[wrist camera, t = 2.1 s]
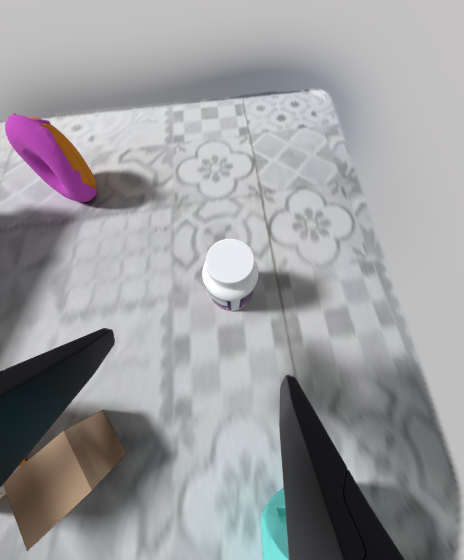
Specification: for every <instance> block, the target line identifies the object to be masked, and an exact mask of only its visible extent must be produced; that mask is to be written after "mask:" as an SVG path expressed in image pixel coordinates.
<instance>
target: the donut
mask: <svg viewBox="0 0 464 560" xmlns="http://www.w3.org/2000/svg"><path fill="white" fill-rule="evenodd" d="M5 130H6V135H7V137H8V140H9V142H10V144H11V145H12V147H13V148H14V149H15V151H16V152H17V153H18V154H19V155H20V156H21V157H22V159H23V160H24V161H25V162H26V163H27V164H28V165H29V166H30V167H31V168H32V169H33V170H34V171H35V172H36V173H37V174H38V175H39V176H40V177H41V178H42V179H43V180H44V181H45V182H46V183H47V184H48V185H50V186H51V187H52V188H53V189H55V190H56V191H57V192H59V193H60V194H62V195H63V196H65V197H66V198H69V199H71V200H74V201H78V202H87V201H90V200H91V199H93V197H94V196H95V195H96V194H97V190H96V189H97V185H96V181H95V179H94V176H93V174H92V172H91V170H90V169H89V167H88V165H87V164H86V162H85V161H84V159H83V158H82V156H81V155H80V153H79V152H78V151H77V149H76V148H75V147H74V146H73V144H72V143H71V142H70V141H69V140H68V139H67V138H66V137H65V136H64V135H63V134H62V133H61V132H60V131H59V130H57V129H56V128H55V127H54V126H52V125H51V124H50V122H49V121H47V120H42V119H40V118H37V117H25V116H20V115H16V114H15V113H14V114H13V115H11V116H10V117H9V118H8V119H7V121H6V124H5Z"/></svg>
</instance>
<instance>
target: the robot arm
mask: <svg viewBox="0 0 464 560" xmlns="http://www.w3.org/2000/svg"><path fill="white" fill-rule="evenodd" d="M114 343H115V339H114V334H113V331H112V330H111V329H107V328H103V329H100V330H98V331H96V332H93V333H91V334H88V335H86V336H84V337H81V338H79V339H76V340H74V341H72V342H69V343H67V344H64V345H62V346H60V347H57V348H55V349H53V350H50V351H48V352H45V353H43V354H41V355H38V356H36V357H33V358H31V359H29V360H26V361H24V362H21V363H19V364H17V365H14V366H12V367H9V368H7V369H5V370H2V371H0V487H2V485H3V484H4V483H5V482H6V481H7V479H8V478H9V477H10V476H11V475H12V473H13V472H14V471H15V470H16V468H17V467H18V466H19V465H20V464H21V462H22V461H23V460H24V459H25V457H26V456H27V455H28V454H29V453H30V451H31V450H32V449H33V448H34V446H35V445H36V444H37V443H38V442H39V440H40V439H41V438H42V437H43V436H44V434H45V433H46V432H47V431H48V429H49V428H50V427H51V426H52V425H53V423H54V422H55V421H56V420H57V418H58V417H59V416H60V415H61V414H62V412H63V411H64V410H65V409H66V407H67V406H68V405H69V404H70V403H71V401H72V400H73V399H74V398H75V397H76V395H77V394H78V393H79V392H80V390H81V389H82V388H83V387H84V386H85V384H86V383H87V382H88V381H89V379H90V378H91V377H92V376H93V374H94V373H95V372H96V370H97V369H98V368H99V366H100V365H101V363H102V362H103V360H104V359H105V357H106V356H107V354H108V353H109V351H110V350H111V348H112V347H113V345H114ZM279 426H280V442H281V455H282V469H283V483H284V496H285V510H286V524H287V538H288V551H289V560H405V559H404V558H403V556H402V555H401V553H400V552H399V550H398V549H397V547H396V546H395V544H394V543H393V541H392V540H391V538H390V537H389V535H388V534H387V532H386V530H385V529H384V527H383V526H382V524H381V523H380V521H379V520H378V518H377V516H376V515H375V513H374V512H373V510H372V509H371V507H370V505H369V504H368V502H367V500H366V499H365V497H364V495H363V494H362V492H361V490H360V489H359V487H358V485H357V484H356V482H355V480H354V479H353V477H352V475H351V473H350V472H349V470H347V467H346V465H345V463H344V461H343V460H342V458H341V456H340V454H339V453H338V451H337V449H336V447H335V446H334V444H333V442H332V440H331V439H330V437H329V435H328V433H327V432H326V430H325V428H324V427H323V425H322V423H321V421H320V420H319V418H318V416H317V414H316V413H315V411H314V409H313V407H312V406H311V404H310V402H309V400H308V399H307V397H306V395H305V394H304V392H303V390H302V388H301V387H300V385H299V383H298V381H297V380H296V378H295V377H294V376H290V375H286V376H285V378H284V380H283V382H282V384H281V388H280V421H279Z"/></svg>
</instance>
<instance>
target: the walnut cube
mask: <svg viewBox="0 0 464 560" xmlns="http://www.w3.org/2000/svg"><path fill="white" fill-rule="evenodd" d="M126 454H127V453H126V451H125V449H124V447H123V446H122V444H121V442H120V440H119V438H118V436H117V435H116V433H115V431H114V429H113V427H112V425H111V424H110V422H109V420H108V418H107V416H106V415H105V413H104V411H103V410H102V411H100V412H98V413H96V414H94V415H92V416H90V417H88V418H86V419H85V420H83V421H81V422H79V423H77V424H75V425H73V426H71V427H70V428H68V429H66V430H64V431H63V432H61V433H60V434H59V435H58V436H57V437H55V438H54V439H53V440H52V441H51V442H49V443H48V444H47V445H46V446H45V447H43V448H42V449H41V450H40V451H39V452H37V453H36V454H35V455H34V456H33V457H31V458H30V459H29V460H28V461H27V462H25V463H24V464H23V465H22V466H21V467H19V468H18V469H17V470H16V471H15V472H13V473H12V475H11V476H10V477H9V478H8V479H7V481H6V482H5V483H4V484H3V486H4V489H5V491H6V494H7V497H8V500H9V502H10V505H11V508H12V511H13V513H14V516H15V519H16V522H17V524H18V527H19V530H20V533H21V535H22V538H23V541H24V544H25V546H26V549H27V551H28V550H29V549H30V548H31V547H32V546H33V545H34V544H36V543H37V542H38V541H39V540H40V539H41V538H42V537H43V536H44V535H45V534H46V533H47V532H48V531H49V530H50V529H51V528H53V527H54V526H55V525H56V524H57V523H58V522H59V521H60V520H61V519H62V518H63V517H64V516H65V515H66V514H67V513H69V512H70V511H71V510H72V509H73V508H74V507H75V506H76V505H77V504H78V503H79V502H80V501H81V500H82V499H83V498H85V497H86V496H87V495H88V494H89V493H90V492H91V491H92V490H93V489H94V488H95V487H96V486H97V485H98V484H99V482H100V481H101V480H102V479H103V478H104V477H105V476H106V475H107V474H108V473H109V472H110V471H111V470H112V469H113V468H114V466H115V465H116V464H117V463H118V462H119V461H120V460H121V459H122V458H123V457H124V456H125V455H126Z"/></svg>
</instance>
